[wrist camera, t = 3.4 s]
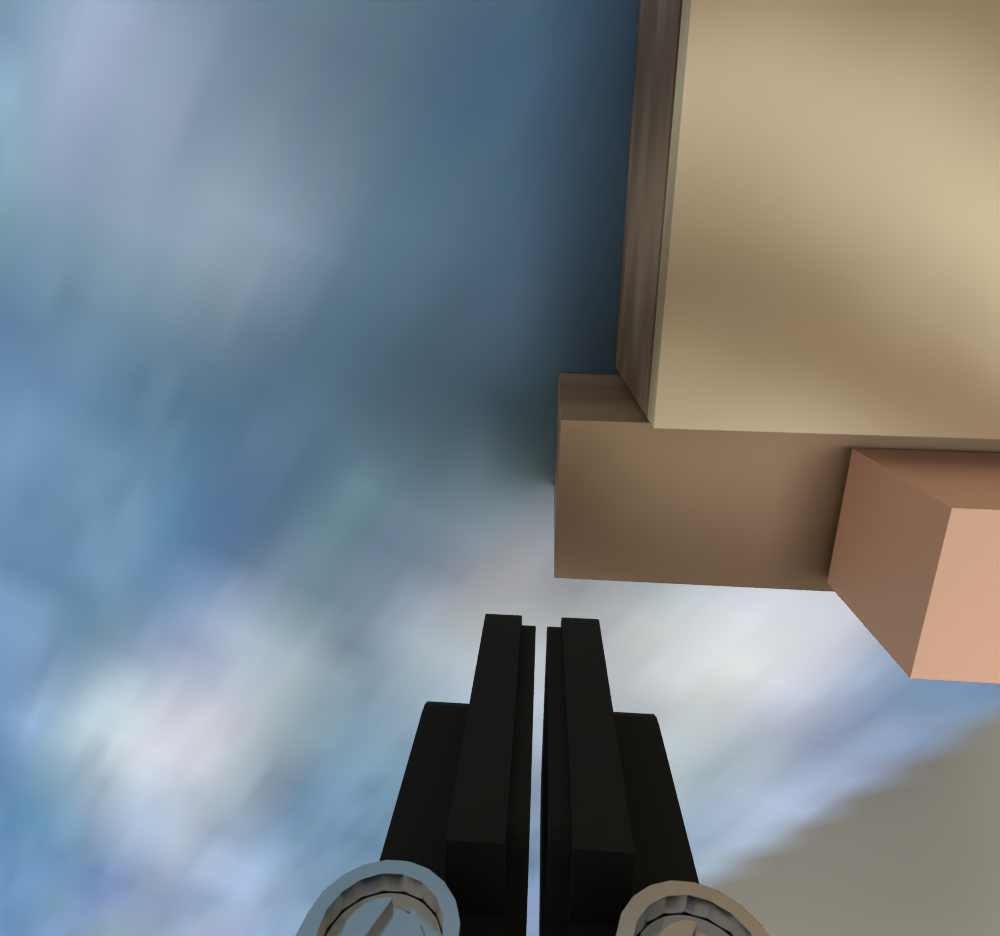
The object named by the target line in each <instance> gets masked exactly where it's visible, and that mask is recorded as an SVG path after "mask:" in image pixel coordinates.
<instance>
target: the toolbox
mask: <svg viewBox="0 0 1000 936" xmlns="http://www.w3.org/2000/svg"><path fill="white" fill-rule="evenodd" d="M682 3H683V0H640V5H639V19H638V34H637V49H636V64H635V79H634V93H633V108H632V123H631V138H630V153H629V167H628V182H627V197H626V212H625V227H624V241H623V256H622V271H621V286H620V301H619V315H618V330H617V345H616V360H615V367H616V369H617V370H618V372H619V373H620V375H611V374H572V373H559V387H558V412H557V436H556V461H555V485H554V578H572V579H592V580H612V581H632V582H652V583H673V584H693V585H713V586H733V587H753V588H774V589H794V590H814V591H834V590H833V589H832V588H831V586H830V585H829V584H828V583H827V581H828V576H829V570H830V565H831V560H832V554H833V549H834V544H835V538H836V533H837V528H838V522H839V517H840V512H841V507H842V501H843V496H844V491H845V485H846V480H847V475H848V469H849V464H850V459H851V453H852V448H861V449H891V450H922V451H952V452H982V453H1000V439H978V438H946V437H914V436H883V435H851V434H819V433H788V432H756V431H724V430H693V429H661V428H653V427H652V425H651V423H650V422H649V420H648V419H647V415H648V403H649V391H650V379H651V368H652V356H653V344H654V332H655V320H656V309H657V297H658V285H659V273H660V262H661V250H662V238H663V226H664V215H665V203H666V191H667V179H668V168H669V156H670V144H671V132H672V120H673V109H674V97H675V85H676V73H677V62H678V50H679V38H680V26H681V15H682ZM834 592H835V591H834Z"/></svg>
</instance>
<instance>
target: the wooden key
mask: <svg viewBox="0 0 1000 936" xmlns="http://www.w3.org/2000/svg"><path fill="white" fill-rule="evenodd" d="M827 583H828V584H829V585H830V586H831V588H832V589H833V590H834V591H835V592H836V593H837V594H838V596H839V597H840V598H841V599H842V600H843V601H844V602H845V604H846V605H847V606H848V607H849V608H850V609H851V611H852V612H853V613H854V614H855V615H856V616H857V617H858V619H859V620H860V621H861V622H862V623H863V624H864V626H865V627H866V628H867V629H868V630H869V631H870V632H871V634H872V635H873V636H874V637H875V638H876V639H877V640H878V642H879V643H880V644H881V645H882V646H883V647H884V649H885V650H886V651H887V652H888V653H889V654H890V655H891V657H892V658H893V659H894V660H895V661H896V662H897V664H898V665H899V666H900V667H901V668H902V669H903V670H904V672H905V673H906V674H907V675H908V676H909V677H910V678H916V679H933V680H950V681H967V682H984V683H1000V453H982V452H952V451H922V450H891V449H861V448H852V453H851V459H850V464H849V469H848V475H847V480H846V485H845V491H844V496H843V501H842V507H841V512H840V517H839V522H838V528H837V533H836V538H835V544H834V549H833V554H832V560H831V565H830V570H829V576H828V581H827Z"/></svg>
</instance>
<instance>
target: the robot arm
mask: <svg viewBox="0 0 1000 936" xmlns="http://www.w3.org/2000/svg"><path fill="white" fill-rule="evenodd" d="M535 631H536V626H523V625H522V616H519V615H498V614H486V615H485V620H484V626H483V631H482V637H481V642H480V648H479V654H478V659H477V665H476V670H475V676H474V681H473V687H472V693H471V698H470V704H464V703H446V702H429V701H427V702H426V704H425V706H424V708H423V711H422V714H421V718H420V721H419V725H418V728H417V732H416V735H415V739H414V742H413V746H412V749H411V753H410V756H409V760H408V763H407V767H406V770H405V774H404V777H403V781H402V784H401V788H400V791H399V795H398V798H397V802H396V805H395V809H394V812H393V816H392V819H391V823H390V826H389V830H388V833H387V837H386V840H385V844H384V847H383V851H382V854H381V858H380V861H379V862H374V863H369V864H364V865H362V866H360V867H358V868H356V869H354V870H352V871H350V872H348V873H346V874H344V875H342V876H341V877H340V878H338V879H337V880H336V881H335V882H334V883H333V884H331V885H330V886H329V887H328V888H327V889H325V890H324V891H323V892H322V894H321V895H320V896H319V898H318V899H317V901H316V902H315V903H314V905H313V906H312V908H311V909H310V910H309V912H308V914H307V915H306V917H305V919H304V921H303V923H302V925H301V927H300V929H299V930H298V932H297V934H296V936H526V924H527V895H528V865H529V834H530V801H531V767H532V733H533V699H534V665H535ZM539 936H769V935H768V934H767V932H766V931H765V929H764V928H763V926H762V925H761V924H760V923H759V922H758V921H757V920H756V919H755V918H754V917H753V916H752V915H751V914H750V913H749V912H748V911H747V910H746V909H745V908H744V907H743V906H742V905H740V904H739V903H737V902H736V901H734V900H733V899H731V898H729V897H728V896H726V895H725V894H723V893H721V892H720V891H718V890H715V889H712V888H710V887H707V886H704V885H701V884H699V881H698V877H697V873H696V869H695V865H694V861H693V857H692V853H691V849H690V845H689V842H688V838H687V834H686V830H685V826H684V822H683V818H682V814H681V810H680V806H679V802H678V798H677V794H676V790H675V786H674V782H673V778H672V774H671V771H670V767H669V763H668V759H667V755H666V751H665V747H664V743H663V739H662V735H661V731H660V727H659V724H658V721H657V718H656V716H655V715H654V714H640V713H622V712H613V707H612V701H611V695H610V688H609V682H608V675H607V669H606V662H605V656H604V650H603V643H602V637H601V630H600V624H599V620H598V619H582V618H562V620H561V627H547V643H546V669H545V694H544V719H543V744H542V769H541V813H540V913H539Z"/></svg>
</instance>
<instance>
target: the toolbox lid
mask: <svg viewBox="0 0 1000 936" xmlns="http://www.w3.org/2000/svg"><path fill="white" fill-rule="evenodd" d="M647 419H648V420H649V422H650V423H651V425H652V427H653V428H661V429H693V430H724V431H756V432H788V433H819V434H851V435H883V436H914V437H946V438H978V439H1000V0H683V3H682V15H681V26H680V38H679V50H678V62H677V73H676V85H675V97H674V109H673V120H672V132H671V144H670V156H669V168H668V179H667V191H666V203H665V215H664V226H663V238H662V250H661V262H660V273H659V285H658V297H657V309H656V320H655V332H654V344H653V356H652V368H651V379H650V391H649V403H648V415H647Z"/></svg>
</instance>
